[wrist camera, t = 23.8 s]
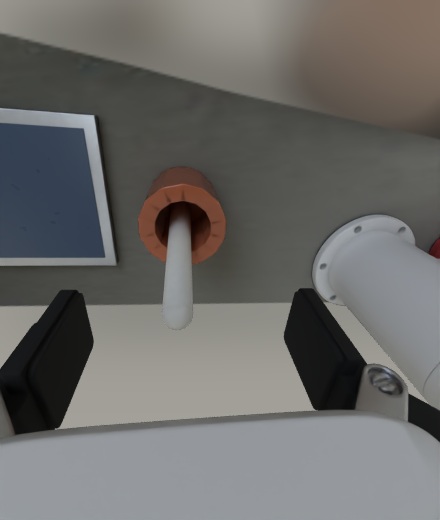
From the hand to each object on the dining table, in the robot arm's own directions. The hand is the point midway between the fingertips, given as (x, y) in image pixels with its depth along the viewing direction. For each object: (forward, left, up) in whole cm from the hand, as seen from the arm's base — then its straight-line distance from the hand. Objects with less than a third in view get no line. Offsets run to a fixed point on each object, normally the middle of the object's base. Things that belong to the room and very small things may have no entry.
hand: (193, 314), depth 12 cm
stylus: (+1, 0, -16) cm, 16 cm away
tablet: (+17, 0, -17) cm, 24 cm away
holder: (0, 0, -17) cm, 17 cm away
